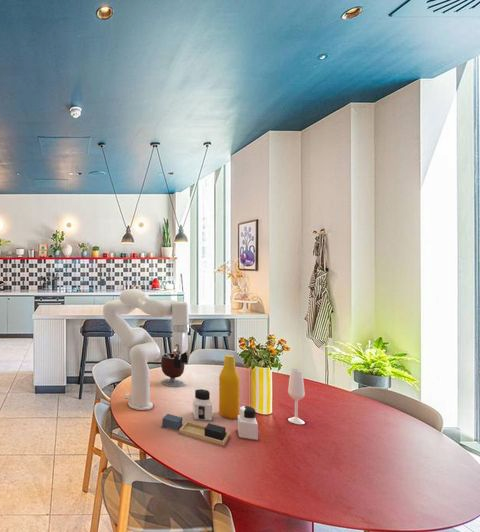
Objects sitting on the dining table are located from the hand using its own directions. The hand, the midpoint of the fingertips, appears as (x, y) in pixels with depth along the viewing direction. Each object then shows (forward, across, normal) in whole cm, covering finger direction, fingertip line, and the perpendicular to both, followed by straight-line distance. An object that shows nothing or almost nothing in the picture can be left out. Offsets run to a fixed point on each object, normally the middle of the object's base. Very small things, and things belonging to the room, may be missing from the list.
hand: (180, 365), depth 160 cm
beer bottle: (+27, -21, +17) cm, 38 cm away
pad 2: (+26, +7, +16) cm, 32 cm away
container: (+27, -12, +6) cm, 30 cm away
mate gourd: (+26, -49, -22) cm, 60 cm away
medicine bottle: (+27, -4, +27) cm, 39 cm away
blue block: (+27, +6, -2) cm, 27 cm away
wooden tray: (+27, +7, +12) cm, 30 cm away
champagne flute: (+27, -32, +44) cm, 61 cm away
